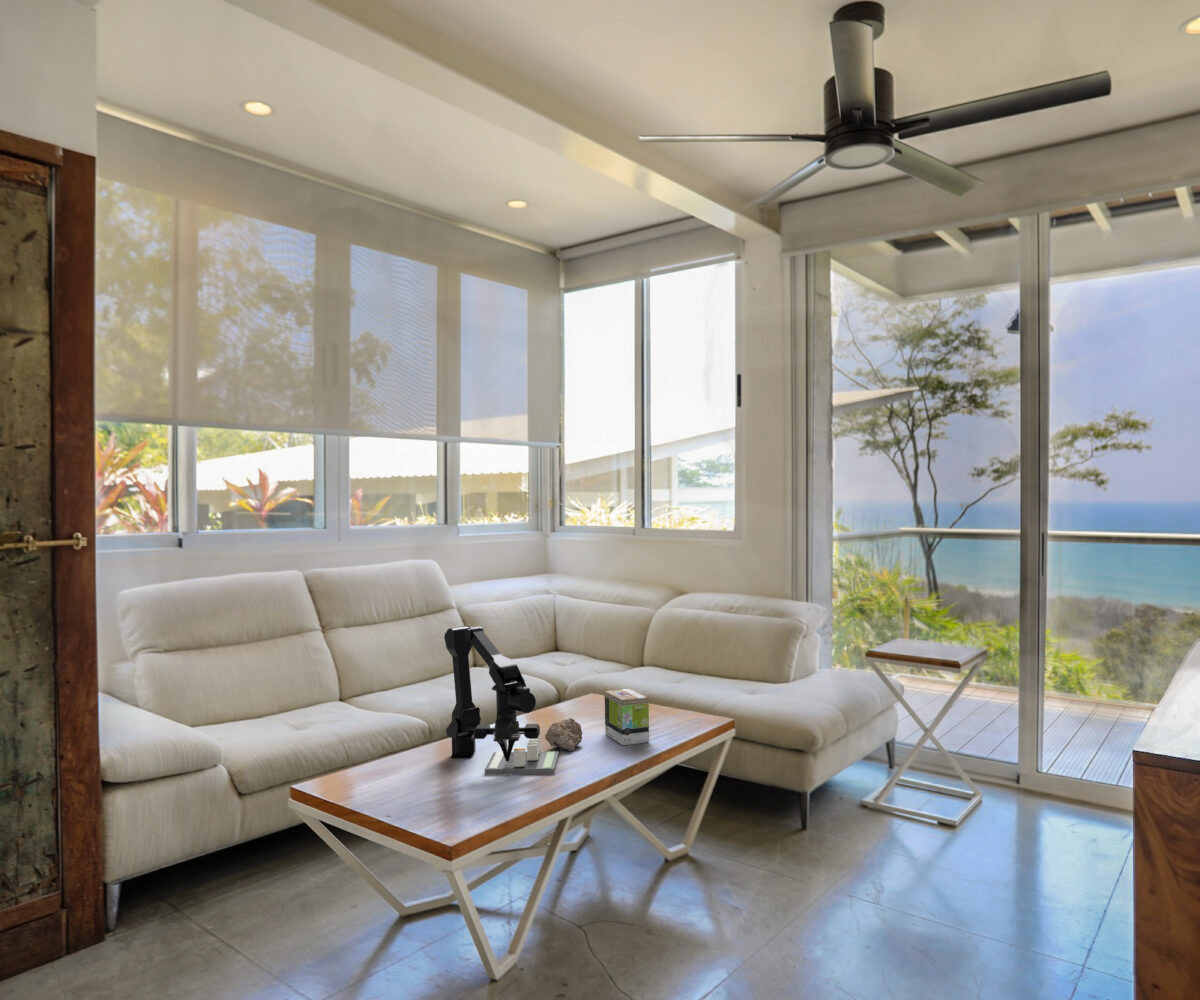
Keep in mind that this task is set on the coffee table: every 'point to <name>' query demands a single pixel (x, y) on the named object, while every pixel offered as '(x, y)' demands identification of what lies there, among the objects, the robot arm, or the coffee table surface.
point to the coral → (564, 734)
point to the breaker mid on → (532, 751)
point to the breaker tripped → (519, 757)
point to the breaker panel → (540, 766)
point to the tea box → (627, 716)
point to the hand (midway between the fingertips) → (507, 760)
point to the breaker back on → (536, 741)
